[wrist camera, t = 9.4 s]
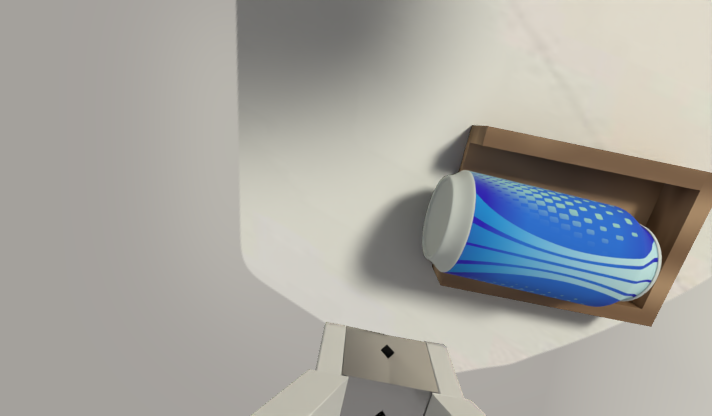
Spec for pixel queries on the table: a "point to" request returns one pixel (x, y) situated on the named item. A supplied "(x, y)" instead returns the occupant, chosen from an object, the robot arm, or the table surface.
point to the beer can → (538, 240)
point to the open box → (602, 184)
